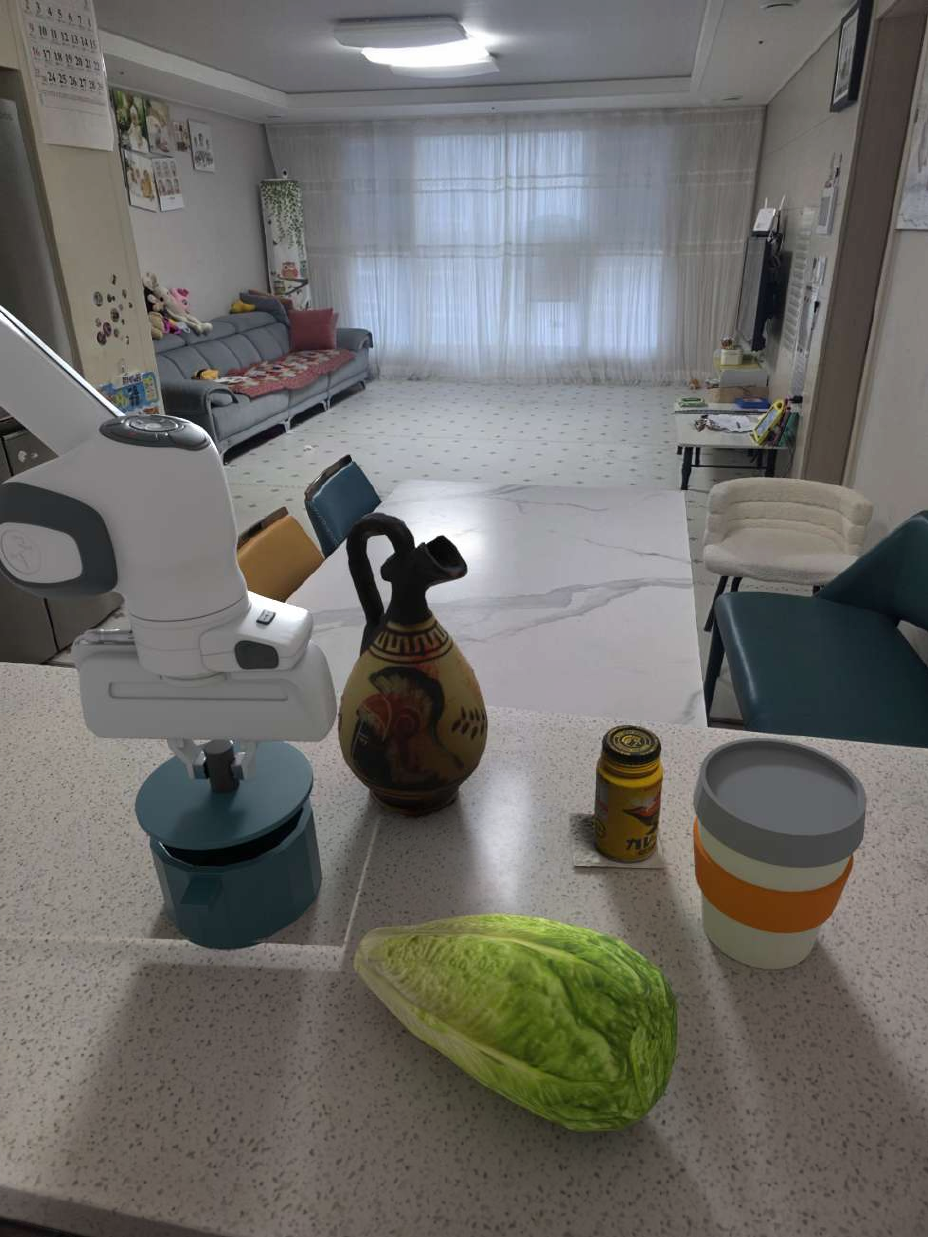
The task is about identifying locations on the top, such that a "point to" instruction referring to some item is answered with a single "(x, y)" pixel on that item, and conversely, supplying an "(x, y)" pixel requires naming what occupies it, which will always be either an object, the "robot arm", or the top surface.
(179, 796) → the pot lid
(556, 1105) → the lettuce
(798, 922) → the reusable coffee cup
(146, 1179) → the top surface
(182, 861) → the pot
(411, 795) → the ceramic jug
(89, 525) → the robot arm
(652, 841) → the condiment
